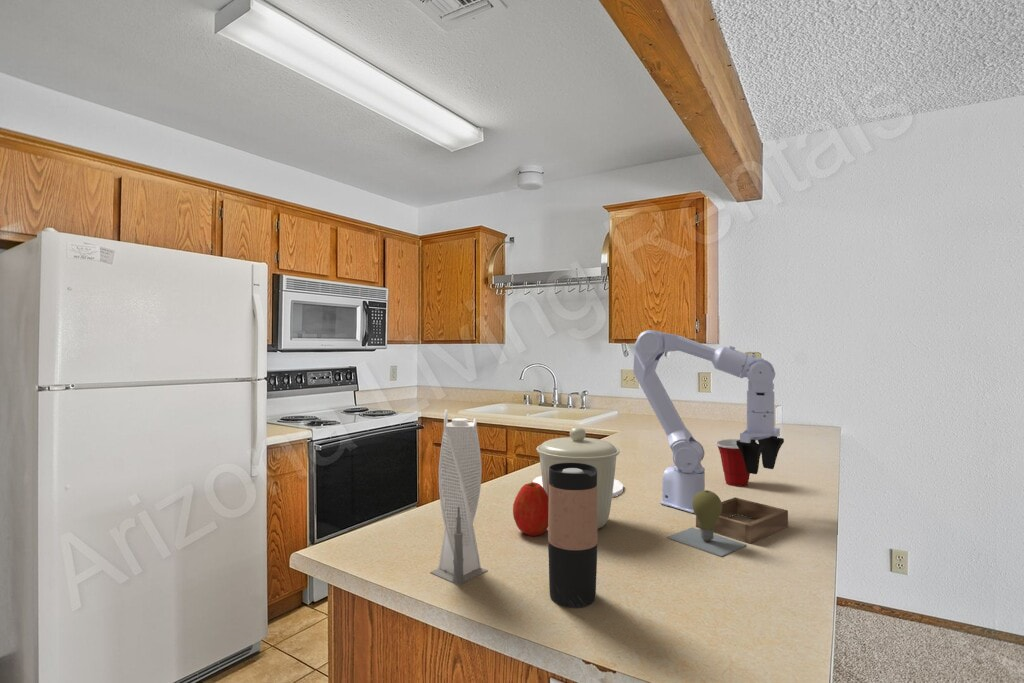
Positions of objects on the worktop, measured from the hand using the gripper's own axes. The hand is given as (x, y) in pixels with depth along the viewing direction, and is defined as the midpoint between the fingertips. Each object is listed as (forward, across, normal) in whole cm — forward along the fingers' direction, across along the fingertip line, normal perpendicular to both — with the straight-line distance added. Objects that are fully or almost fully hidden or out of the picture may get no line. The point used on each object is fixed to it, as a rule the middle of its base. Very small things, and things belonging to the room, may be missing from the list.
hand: (760, 470), depth 119 cm
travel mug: (+11, -61, -1) cm, 62 cm away
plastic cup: (+11, +22, +18) cm, 30 cm away
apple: (+11, -48, +24) cm, 55 cm away
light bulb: (+10, -24, -1) cm, 26 cm away
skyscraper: (+11, -70, +18) cm, 73 cm away
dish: (+11, -16, +43) cm, 47 cm away
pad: (+10, -24, -1) cm, 26 cm away
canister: (+11, -37, +22) cm, 44 cm away
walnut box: (+10, -10, -1) cm, 14 cm away
